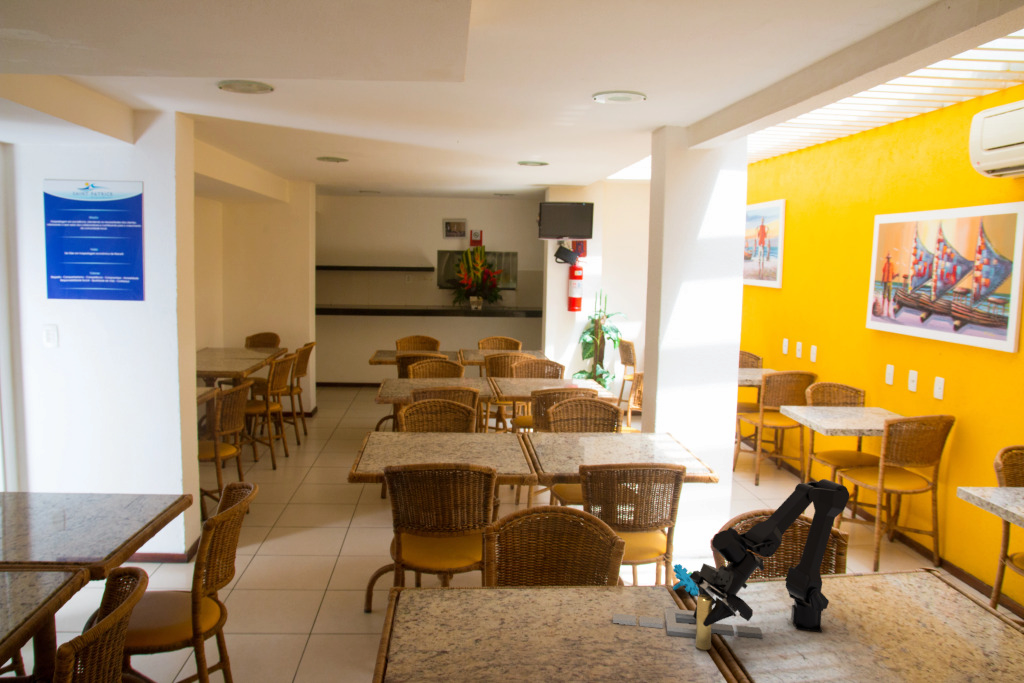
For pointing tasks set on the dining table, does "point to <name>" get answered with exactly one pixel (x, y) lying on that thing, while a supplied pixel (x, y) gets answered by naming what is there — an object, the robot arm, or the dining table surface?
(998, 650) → the dining table surface
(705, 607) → the pin
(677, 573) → the gear
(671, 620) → the square frame with tiles
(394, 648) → the dining table surface
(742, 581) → the robot arm
